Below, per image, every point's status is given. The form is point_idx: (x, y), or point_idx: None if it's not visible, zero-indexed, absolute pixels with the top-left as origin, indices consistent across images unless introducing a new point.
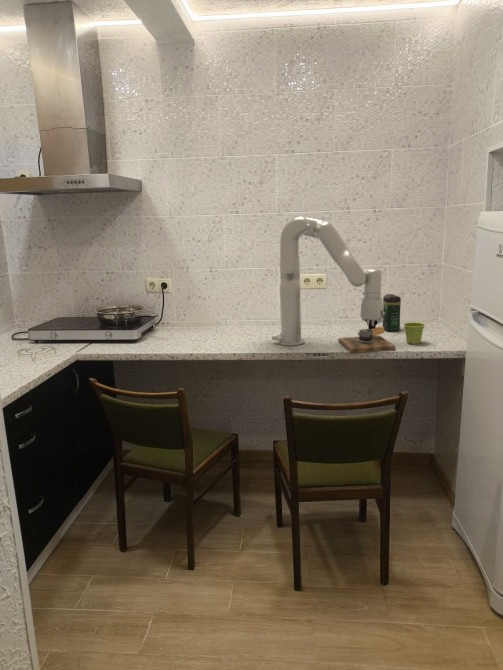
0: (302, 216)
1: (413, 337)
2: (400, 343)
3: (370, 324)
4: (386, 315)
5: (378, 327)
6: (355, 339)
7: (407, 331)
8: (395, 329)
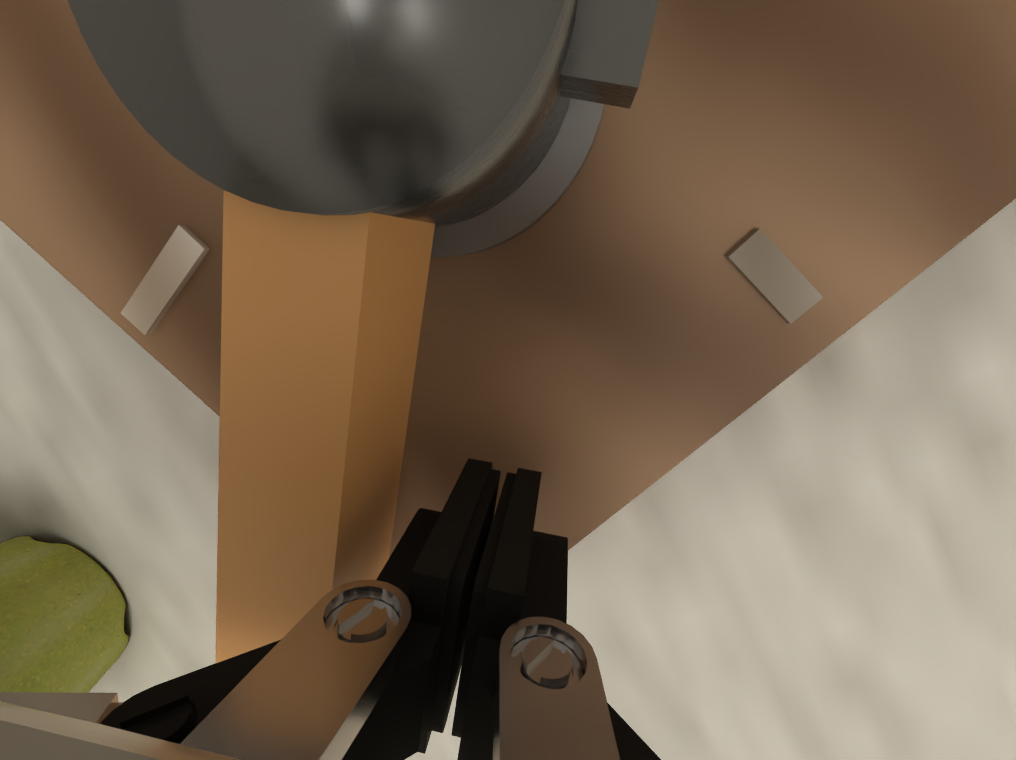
0: None
1: None
2: (144, 506)
3: (477, 665)
4: None
5: (283, 629)
6: (724, 146)
7: None
8: None
